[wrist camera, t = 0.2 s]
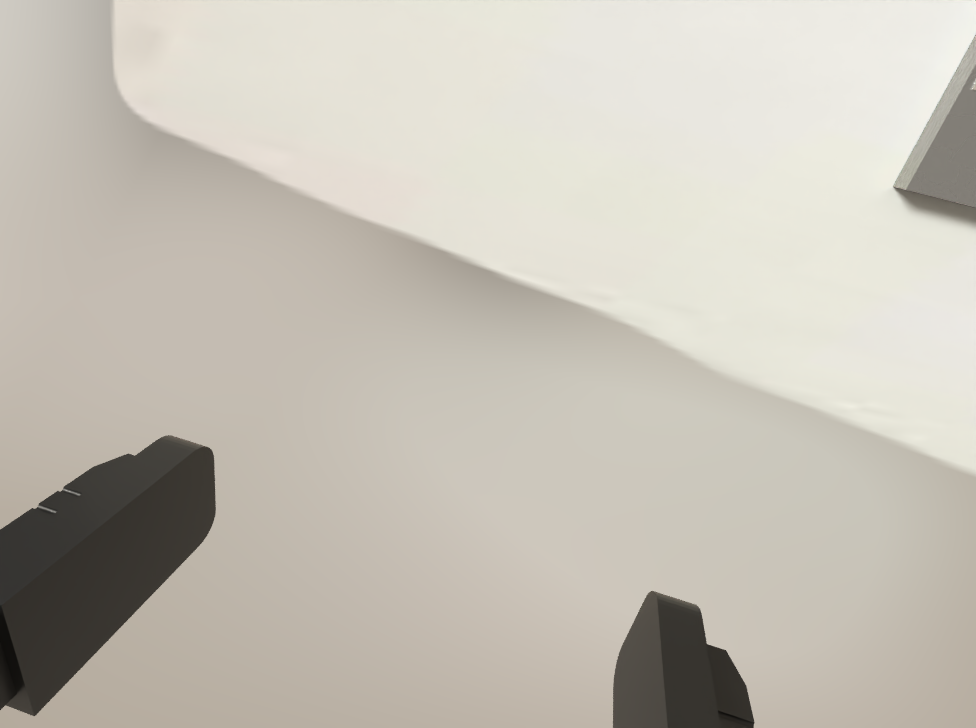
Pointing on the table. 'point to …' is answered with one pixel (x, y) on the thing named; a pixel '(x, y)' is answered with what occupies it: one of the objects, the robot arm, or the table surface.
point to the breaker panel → (948, 142)
